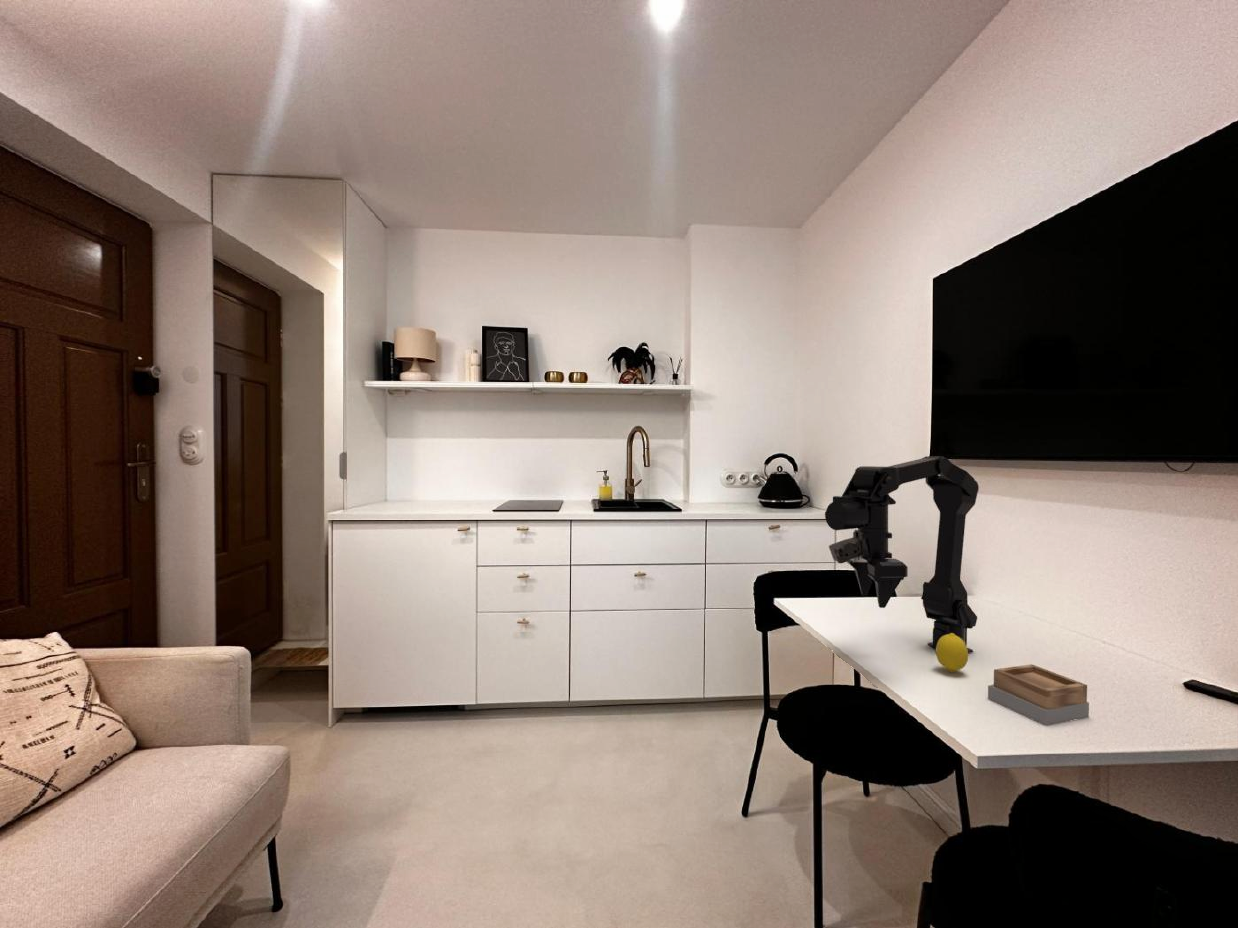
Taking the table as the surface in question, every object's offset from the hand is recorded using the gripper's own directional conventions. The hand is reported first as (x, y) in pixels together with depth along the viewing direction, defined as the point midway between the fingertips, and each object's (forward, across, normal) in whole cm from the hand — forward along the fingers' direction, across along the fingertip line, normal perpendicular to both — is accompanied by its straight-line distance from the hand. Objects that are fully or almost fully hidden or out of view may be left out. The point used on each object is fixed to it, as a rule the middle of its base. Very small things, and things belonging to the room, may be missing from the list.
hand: (872, 600), depth 112 cm
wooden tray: (+11, +17, +21) cm, 30 cm away
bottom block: (+14, +17, +21) cm, 31 cm away
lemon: (+14, +3, +14) cm, 20 cm away
